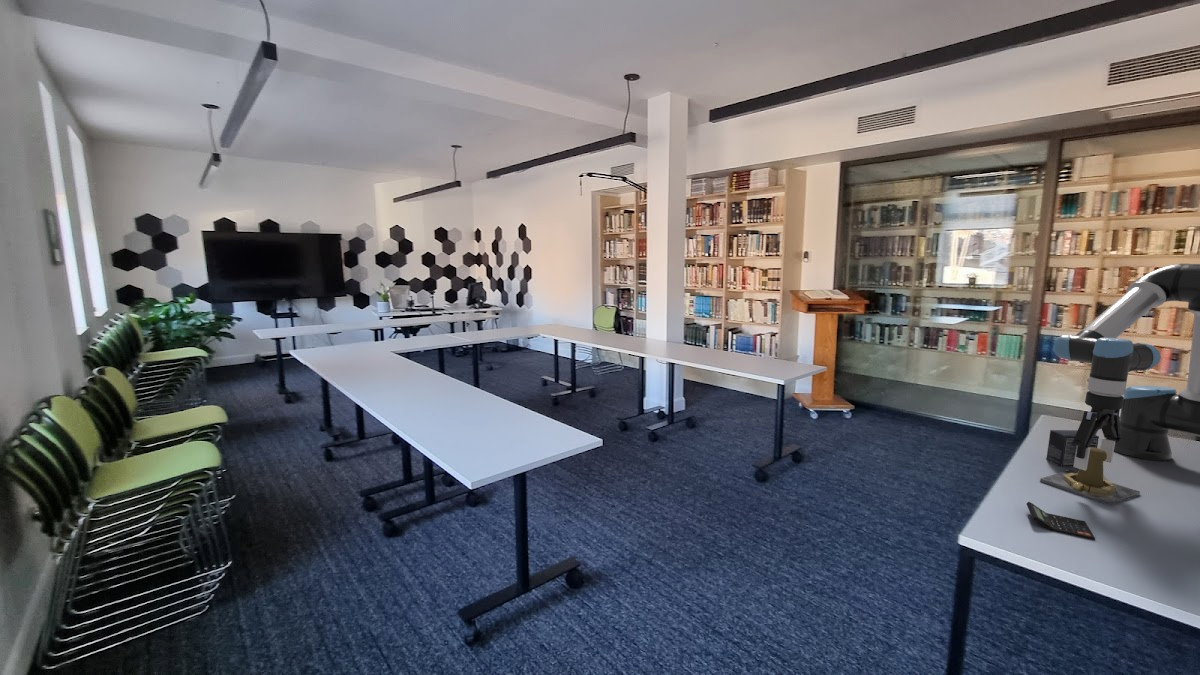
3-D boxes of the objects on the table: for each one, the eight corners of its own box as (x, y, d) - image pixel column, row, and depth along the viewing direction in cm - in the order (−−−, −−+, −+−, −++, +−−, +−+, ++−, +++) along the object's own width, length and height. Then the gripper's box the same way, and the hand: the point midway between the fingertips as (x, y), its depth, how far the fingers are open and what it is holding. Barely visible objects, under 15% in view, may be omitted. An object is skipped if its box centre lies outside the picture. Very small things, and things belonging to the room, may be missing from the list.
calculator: (1094, 541, 121) (1096, 529, 121) (1031, 527, 127) (1033, 516, 127) (1084, 524, 129) (1086, 513, 129) (1025, 511, 135) (1026, 501, 135)
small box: (1077, 459, 169) (1082, 429, 168) (1095, 468, 163) (1101, 436, 161) (1044, 459, 170) (1049, 428, 168) (1061, 467, 163) (1066, 435, 161)
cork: (1084, 488, 146) (1090, 451, 144) (1069, 479, 152) (1075, 443, 150) (1109, 490, 145) (1115, 453, 143) (1093, 481, 151) (1099, 445, 149)
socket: (1069, 472, 159) (1070, 466, 159) (1139, 494, 145) (1140, 487, 144) (1040, 481, 153) (1041, 474, 152) (1110, 505, 138) (1111, 498, 138)
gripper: (1110, 385, 152) (1098, 453, 156) (1064, 394, 142) (1052, 466, 146) (1145, 391, 146) (1131, 462, 149) (1098, 401, 136) (1085, 477, 139)
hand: (1092, 464), depth 147 cm, fingers open, 13 cm apart
